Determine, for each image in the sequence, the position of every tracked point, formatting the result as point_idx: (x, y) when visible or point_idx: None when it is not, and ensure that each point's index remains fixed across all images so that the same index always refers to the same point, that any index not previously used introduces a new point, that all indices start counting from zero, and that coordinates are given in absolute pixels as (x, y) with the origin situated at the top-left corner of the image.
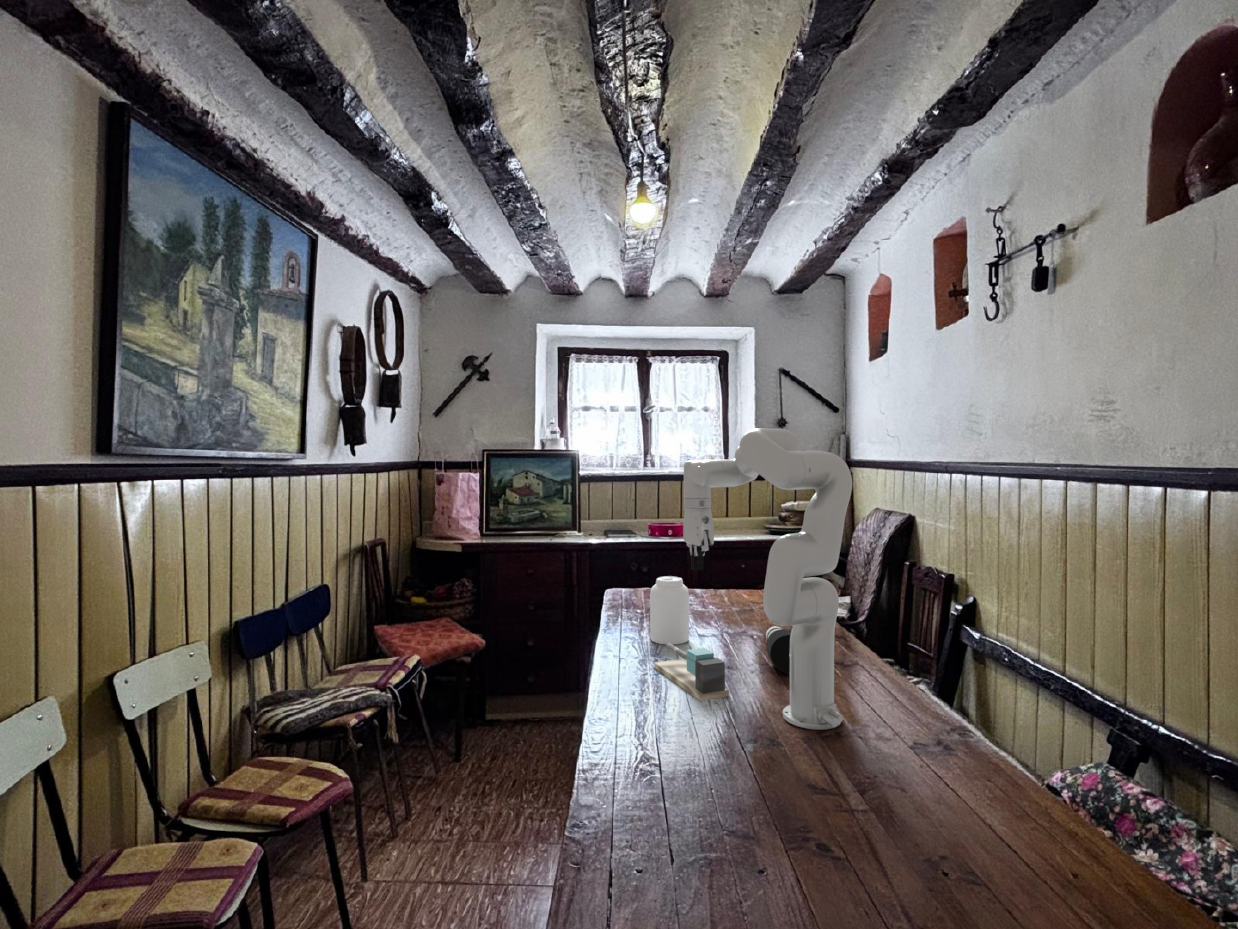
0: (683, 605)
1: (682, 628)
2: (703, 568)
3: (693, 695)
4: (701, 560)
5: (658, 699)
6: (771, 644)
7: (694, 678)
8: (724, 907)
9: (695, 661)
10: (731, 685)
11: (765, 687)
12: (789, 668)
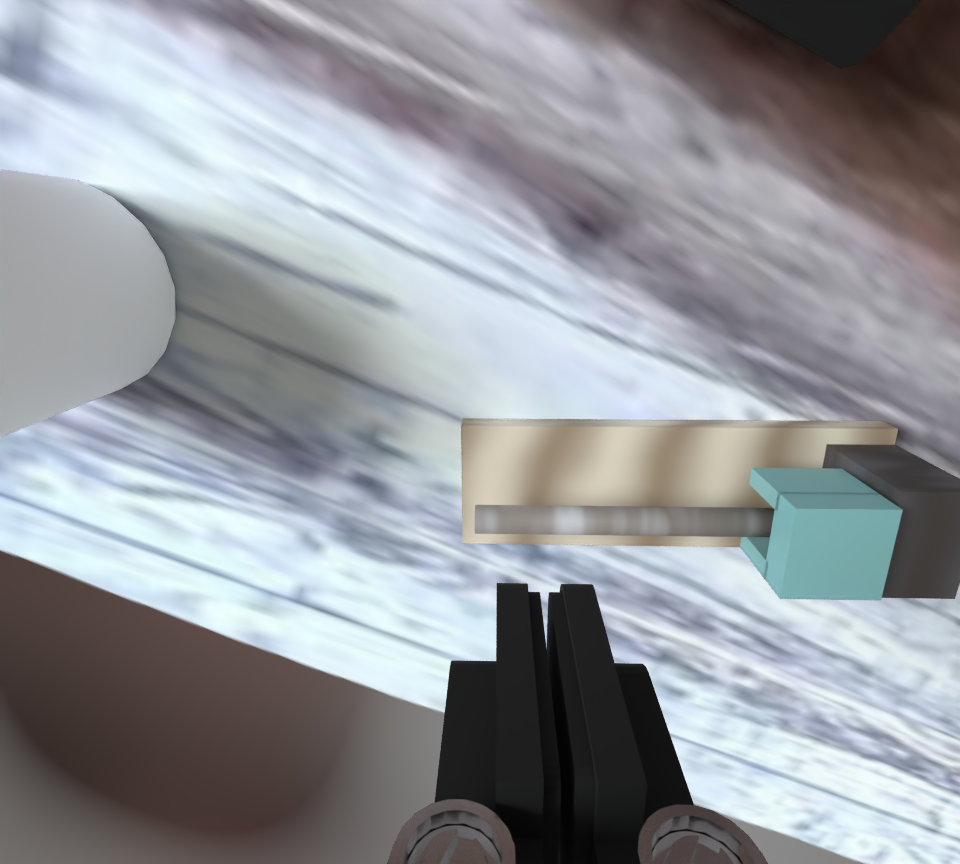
0: (7, 264)
1: (121, 266)
2: (595, 593)
3: None
4: (671, 768)
5: (765, 646)
6: (861, 12)
7: (714, 486)
8: None
9: None
10: (792, 345)
11: (896, 216)
12: None
